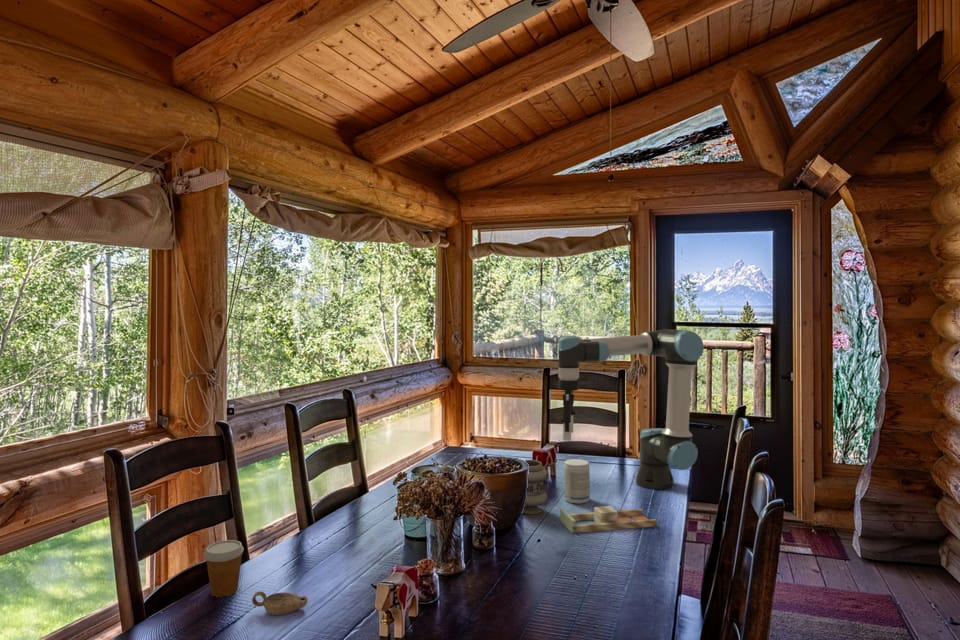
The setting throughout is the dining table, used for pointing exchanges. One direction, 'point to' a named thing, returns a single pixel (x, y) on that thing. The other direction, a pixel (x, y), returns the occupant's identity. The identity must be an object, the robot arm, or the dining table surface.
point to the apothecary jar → (535, 489)
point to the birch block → (605, 514)
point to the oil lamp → (280, 602)
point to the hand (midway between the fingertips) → (568, 436)
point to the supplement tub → (576, 481)
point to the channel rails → (612, 524)
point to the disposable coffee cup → (224, 566)
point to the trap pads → (639, 517)
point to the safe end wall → (567, 520)
